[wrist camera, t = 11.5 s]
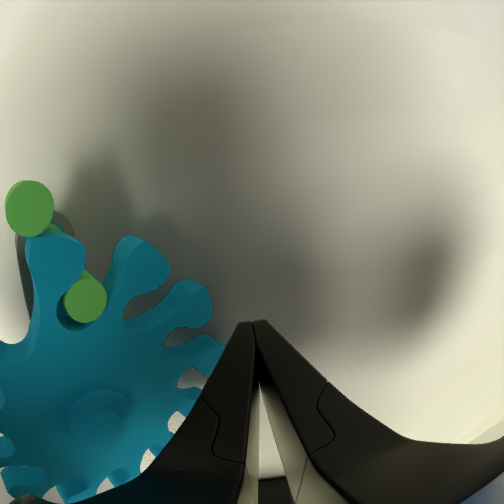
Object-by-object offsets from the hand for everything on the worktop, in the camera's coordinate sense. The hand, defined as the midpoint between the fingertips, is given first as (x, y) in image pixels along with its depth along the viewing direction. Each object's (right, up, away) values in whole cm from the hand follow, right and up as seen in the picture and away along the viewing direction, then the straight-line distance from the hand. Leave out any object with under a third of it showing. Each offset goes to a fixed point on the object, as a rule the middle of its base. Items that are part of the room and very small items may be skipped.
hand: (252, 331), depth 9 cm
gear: (-5, 0, +1) cm, 5 cm away
